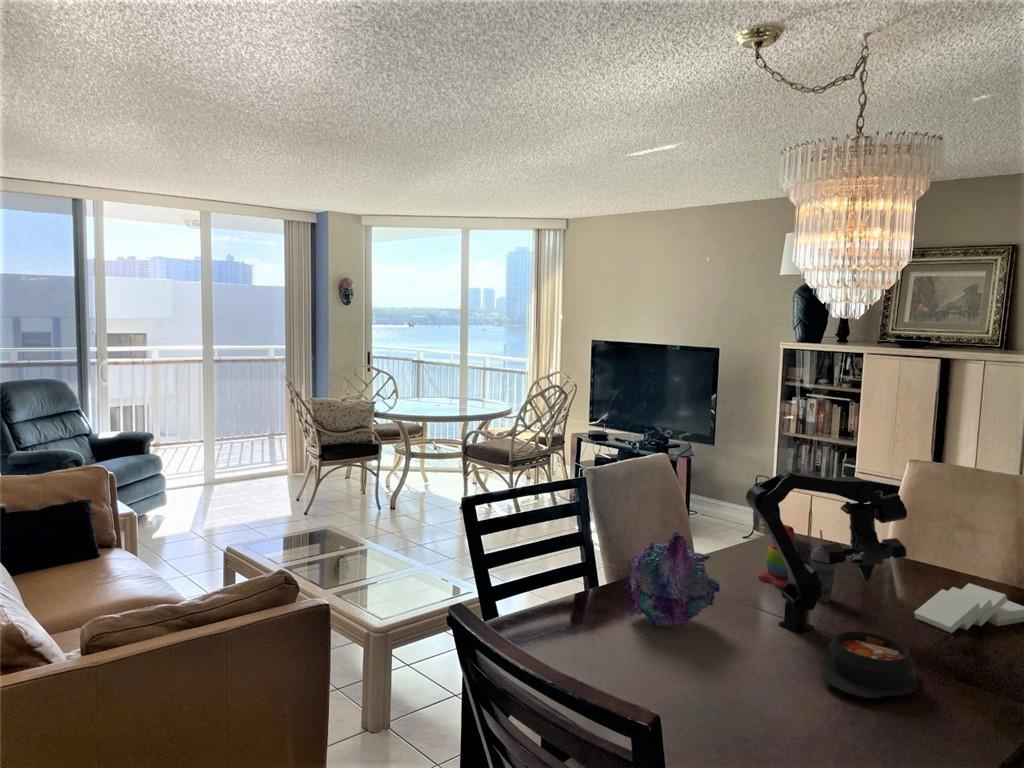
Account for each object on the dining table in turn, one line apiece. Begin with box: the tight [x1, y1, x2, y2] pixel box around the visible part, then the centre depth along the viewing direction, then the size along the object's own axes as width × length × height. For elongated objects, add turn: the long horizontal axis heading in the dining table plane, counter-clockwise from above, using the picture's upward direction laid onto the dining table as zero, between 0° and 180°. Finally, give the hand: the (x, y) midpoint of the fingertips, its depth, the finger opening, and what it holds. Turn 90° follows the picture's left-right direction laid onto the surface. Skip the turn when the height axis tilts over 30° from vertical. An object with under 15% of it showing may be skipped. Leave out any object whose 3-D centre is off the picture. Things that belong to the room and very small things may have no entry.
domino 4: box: [990, 599, 1024, 621], centre depth 194 cm, size 2×10×12 cm
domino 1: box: [913, 588, 980, 634], centre depth 188 cm, size 2×10×12 cm
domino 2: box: [948, 586, 992, 631], centre depth 190 cm, size 2×10×12 cm
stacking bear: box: [758, 524, 798, 589], centre depth 216 cm, size 11×10×18 cm
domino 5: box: [986, 616, 1024, 627], centre depth 193 cm, size 2×10×12 cm
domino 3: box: [961, 582, 1008, 627], centre depth 192 cm, size 2×10×12 cm
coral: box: [623, 530, 721, 628], centre depth 183 cm, size 25×21×25 cm
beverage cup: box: [809, 529, 838, 603], centre depth 203 cm, size 7×7×20 cm
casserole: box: [820, 630, 919, 700], centre depth 155 cm, size 25×19×8 cm
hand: (866, 580), depth 185 cm, fingers closed
